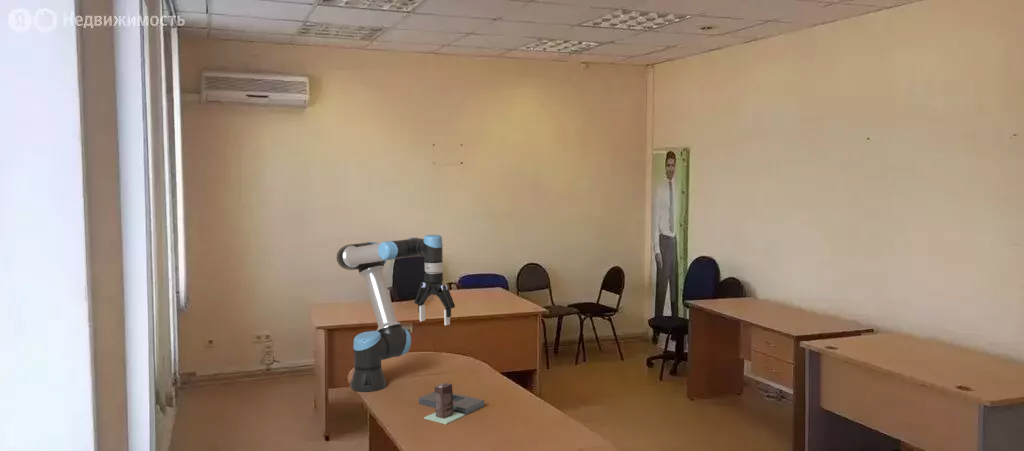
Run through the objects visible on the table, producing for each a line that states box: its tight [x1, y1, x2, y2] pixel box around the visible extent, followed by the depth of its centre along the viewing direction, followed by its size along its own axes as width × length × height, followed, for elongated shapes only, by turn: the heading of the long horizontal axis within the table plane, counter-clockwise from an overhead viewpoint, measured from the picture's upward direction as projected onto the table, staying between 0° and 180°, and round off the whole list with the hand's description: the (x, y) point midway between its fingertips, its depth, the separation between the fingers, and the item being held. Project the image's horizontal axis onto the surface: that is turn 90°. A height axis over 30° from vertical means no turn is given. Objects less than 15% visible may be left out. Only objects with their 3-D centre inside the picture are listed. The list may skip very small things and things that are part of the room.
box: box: [433, 382, 454, 418], centre depth 286 cm, size 6×4×12 cm
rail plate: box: [418, 391, 485, 416], centre depth 300 cm, size 24×12×2 cm, turn 55°
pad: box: [423, 411, 466, 425], centre depth 286 cm, size 11×11×1 cm
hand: (434, 322), depth 311 cm, fingers open, 13 cm apart
